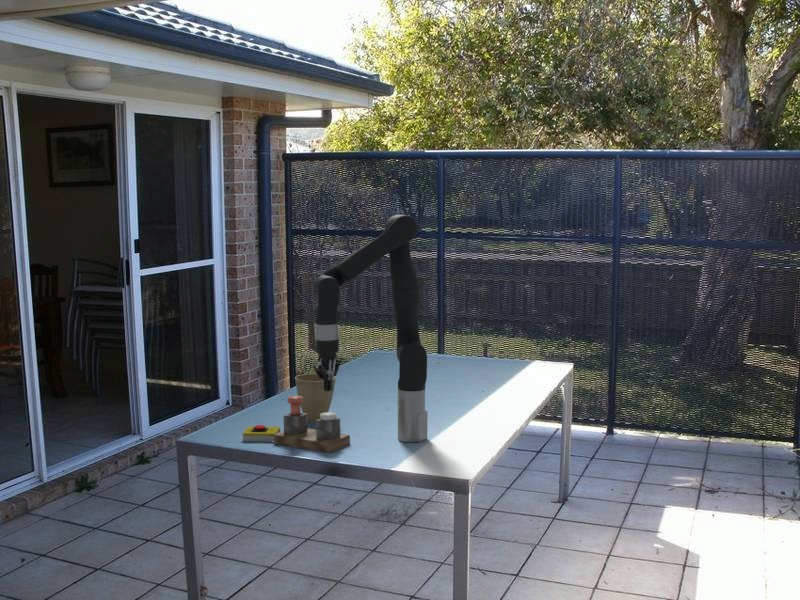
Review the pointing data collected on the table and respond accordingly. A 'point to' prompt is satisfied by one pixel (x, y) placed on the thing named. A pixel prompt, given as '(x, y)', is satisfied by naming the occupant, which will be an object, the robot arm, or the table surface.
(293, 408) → the red plunger
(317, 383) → the plant pot
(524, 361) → the table surface
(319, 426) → the press board
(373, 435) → the table surface
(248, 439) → the emergency button
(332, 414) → the white plunger
